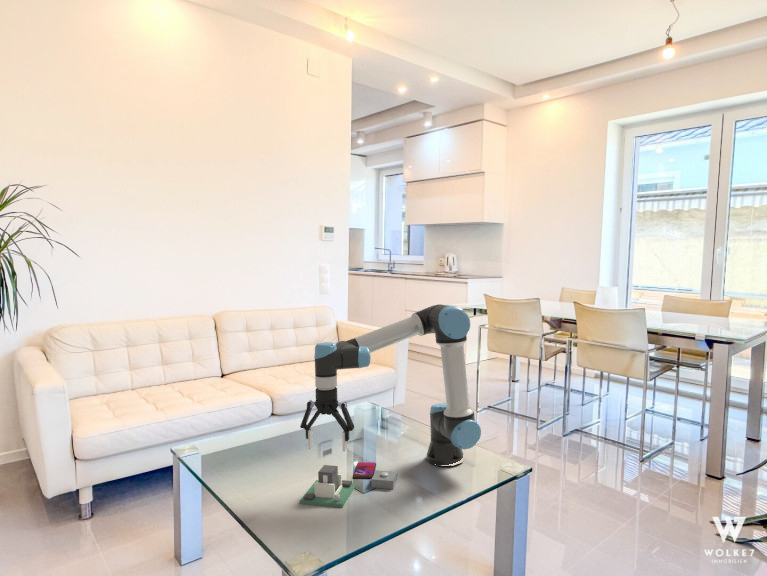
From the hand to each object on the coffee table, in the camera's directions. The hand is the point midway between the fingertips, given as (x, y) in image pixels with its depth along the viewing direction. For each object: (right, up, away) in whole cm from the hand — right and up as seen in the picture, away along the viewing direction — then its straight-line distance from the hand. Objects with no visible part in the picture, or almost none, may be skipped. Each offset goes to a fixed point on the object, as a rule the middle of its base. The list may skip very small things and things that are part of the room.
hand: (327, 449), depth 168 cm
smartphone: (+12, -16, +20) cm, 29 cm away
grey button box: (+20, -16, +9) cm, 27 cm away
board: (0, -16, +1) cm, 16 cm away
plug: (0, -15, 0) cm, 15 cm away
